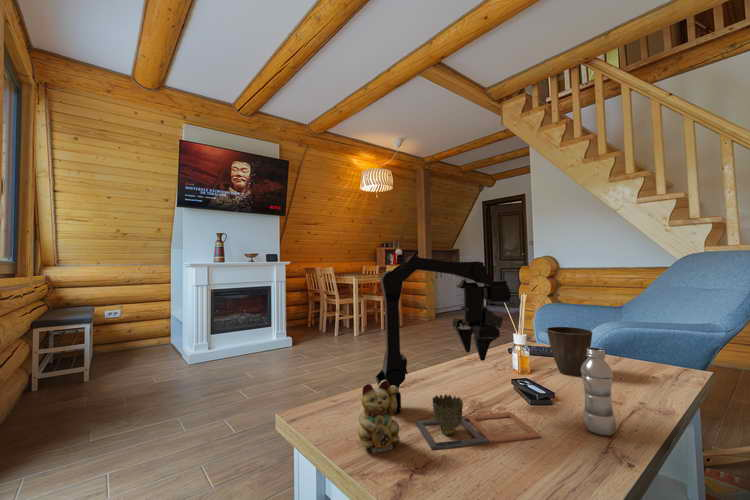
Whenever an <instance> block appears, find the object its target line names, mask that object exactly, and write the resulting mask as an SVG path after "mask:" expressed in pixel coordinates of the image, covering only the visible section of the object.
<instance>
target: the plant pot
mask: <svg viewBox="0 0 750 500" xmlns="http://www.w3.org/2000/svg"><path fill="white" fill-rule="evenodd" d="M546 331H547V337H548V343H549V345H550V350H551V353H552V356H553V359H554V362H555V364H556V367H557V369H558V371H559V373H560V374H562V375H565V376H569V377H570V376H571V377H579V376H581V377H582V373H581V366H582V364H583V363H584V362H585V361H586V359H587V358H588V356H586V354H587V348H590V347H591V346H592V340H593V339H592V338H593V331H591V330H589V329H585V328H579V327H570V326H569V327H568V326H551V327H547V328H546Z"/></svg>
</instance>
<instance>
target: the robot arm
mask: <svg viewBox="0 0 750 500" xmlns="http://www.w3.org/2000/svg"><path fill="white" fill-rule="evenodd" d="M415 271H424V272H432V273H439V274H440V273H441V274H445V275H446V274H447V275H452V276H455V277H458V278H460V279H463V280H461V281H460V282H459V283H458V284H457V285H456V288H457V289H463V305H461V310H463V313H464V314H463V315H464V317H455V318H453V320H452V327H453V328H454V330H455V332H456V333H457V336H458V337H459V340H460V342H461V345H462V346H463V348H464V351H465V352H466V353H471V346H472V338H473V341H474V344H475V348H476V351H477V354H478V357H479V360H480V361H485V360H486V358H487V357H486V356H487V355H488V351H489V347H490V346H491V343H492V342H493V341H494V340H497V339H498V338H500V336H501V333H500V332H501V330H500V329H501V328H502V325H503V321H504V317H502V316H498V315H496V314H494V313H493V311H491V310H489V309H488V307H486V306H485V301H486V302H487V303H488V304H506V303H507V304H508V303H509V302H510V301H511V296H512V293H511V290H510V287H509V285H508V283H507V282H508V280H501V279H500V280H493V279H492V278H491V276H490V275H489V274H488V272H487V268H486V266H485V264H484V263H483V262H481V261H459V262H457V261H455V262H454V261H447V260H440V259H435V258H434V259H432V258H425V257H424V258H423V257H420V256H416V255H414V256H409V257H407V259H406V260H405V261H403V262H402V263H400V264H399V265H398V266H396V267H395V268H393V269H392V270H386V271H385V272H383V273H382V274H381V275H380V279H379V282H380V286H381V288H380V289H381V292H382V296H383V300H384V315H385V320H384V321H385V353H384V356H383V362H382V369H381V370H380V371H379V373H377V374H376V376H375V381H376V383H377V386H379V384H380V382H381V381H383V380H387V381H388V382H389V386H392V385H394V386H396V387H397V388H398V389H399V390H400V386H401V384H402V383H404V381H405V380H406V376H407V375H408V374H409V372H408V370H407V365H408V359H407V357H406V356H405V355H404V354H403V353H401V337H400V336H401V334H400V308H399V303H400V299H401V294H402V290H403V283H404V282H405V281H406V280H407V279H408V278H409V277H410V276H411V275H413V274H414V273H415ZM467 281H472V282H467ZM479 284H482V285H479ZM473 335H474V336H473ZM472 336H473V337H472ZM401 394H402V393H401V392H400V391H399V392H398V393H397V394H395V396H396V400H397V410H396V412H395V413H394V414H401V413H402V411H401V408H402V395H401ZM394 414H393V415H394Z"/></svg>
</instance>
